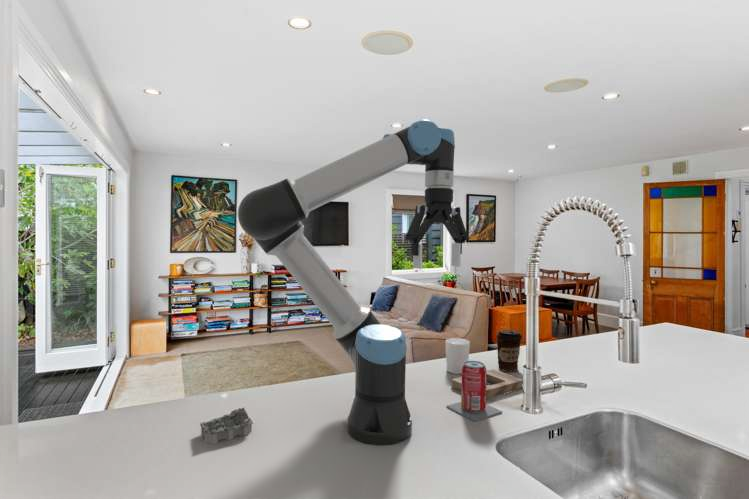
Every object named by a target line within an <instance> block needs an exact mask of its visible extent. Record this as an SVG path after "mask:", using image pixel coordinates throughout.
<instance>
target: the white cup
mask: <svg viewBox="0 0 749 499" xmlns="http://www.w3.org/2000/svg"><path fill="white" fill-rule="evenodd" d="M470 343H471V341H470V340H468V339H465V338H461V337H460V338H457V337H451V338H446V339H445V359H446V360H445V362H446V371H447V372H449V373H452V374H456V375H462V367H463V365H464V362H466V361H469V357H470V346H471V344H470Z"/></svg>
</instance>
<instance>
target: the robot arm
mask: <svg viewBox="0 0 749 499" xmlns="http://www.w3.org/2000/svg"><path fill="white" fill-rule="evenodd" d="M455 148H456V144H455V134H454V131H453V129H451V128H448V127H439V126H438V125H437V124H436V123H435V122H434V121H432V120H429V119H421V120H418V121H415V122H413V123H411V125H410V126H408V127H405V128H403V129H402V130H399V131H397V132H394V133H386V134H384V135H383V137H382V138H381V139H379V140H377V141H375V142H373V143H371V144H369V145H367V146H364V147H363V148H361V149H358V150H356V151H354V152H352V153H350V154H347V155H345V156H344V157H342V158H339V159H337V160H334V161H332V162H330V163H328V164H326V165H325V166H322V167H320V168H317V169H315V170H314V171H311V172H309V173H307V174H305V175H302V176H301V177H298V178H296V179H291V178H289V177H288V178H285V179H282V180H280V181H279V182H278V181H277V182H276V183H273V184H271V185H270V184H269V185H268V186H264V187H261V188H258V189H255V190H253V191H251V192H249V193H247V194H246V195H245V196H244V197H243V198H242V200H241V201H240V204H239V205H238V210H237V218H238V224H239V225H240V227H241V228H242V230H243V231H244V232H245V233H246V234H247V235H248V236H250V237H252V238H253V239H254V240H255V242H256V243H257V244H258V246H259V247H260V248H261V250H263V252H264V253H265V254H266V255H268V256H269V255H270V256H274V257H276V258H277V259H278V260H279V261H280V263H281V264H282V265H283V267H284V268H285V269H286V271H287V272H289V274H290V275H291V276H292V277H293V279H294V280H295V281H296V282H297V284H298V285H299V286H300V287H301V289H302V290H303V291H304V292H305V294H307V296H308V297H309V299H310V300H311V301H312V302H313V304H315V306H316V307H317V308H318V309H319V311H320V313H321V314H323V316H324V317H325V318H326V320H328V322H329V323H330V325H332V327H333V329H334V330H333V338H334V339H335V340H336V342H338V345H340V346H341V347H342V348H343V350H344V351H345V353H346V354H347V355H348V356H349V358H350V359H351V361H352V364H353V365H354V366H355V367H354V368H355V380H354V381H355V382H354V384H355V385H354V386H355V389H354V390H355V393H354V394H355V396H354V399H353V401H352V405H351V408H350V411H349V414H348V416H347V421H346V422H347V426H346V427H347V428H346V429H347V430H346V431H347V433H348V434H349V436H351V437H352V438H353V439H354V440H357V441H360V442H361V443H365V444H369V445H380V446H381V445H382V446H383V445H393V444H397V443H399V442H402V441H404V440H406V439H407V438H409V437H410V435H411V434H412V431H413V430H412V429H413V421H412V420H413V419H412V417H411V413H410V410H409V407H408V402H407V400H406V369H407V368H406V367H407V366H406V364H407V362H406V361H407V360H406V359H407V351H408V348H407V341H406V340H407V339H406V335H405V333H404V332H403V331H402V330H400V329H399V328H397V327H396V326H391V325H387V324H381V322H380V321H379V319H378V318H377V317H376V316H375V314H374V313H373V312H372V311H371V310H370V308H369V307H365V306H364V307H363V306H360V305H359V303H357V301H356V300H355V298H354V297H353V296H352V294H351V293H350V292H349V291H348V290H347V288H346V287H345V285H343V283H342V282H341V281H340V279H339V278H338V277H337V275H336V274H335V273H334V272H333V271H332V269H331V268H330V267H329V265H328V264H327V263H326V262H325V260H324V259H323V257H322V256H321V255H320V254H319V253H318V251H317V250H316V248H314V246H313V245H312V244H311V242H310V241H309V240H308V238H307V237H306V236H305V234H304V230H305V225H304V223H303V222H302V221H303V220H306V219H308V217H309V213H310V212H311V211H314V210H315V209H318V208H320V207H322V206H324V205H326V204H329V203H330V202H333V201H334V200H337V199H338V198H341V197H342V196H344V195H346V194H349V193H351V192H352V191H354V190H357V189H358V188H361V187H363V186H365V185H367V184H369V183H371V182H373V181H374V180H375V181H376V180H377V179H379V178H381V177H384V176H385V175H387V174H389V173H391V172H394V171H395V170H398V169H400V168H401V167H403V166H406V165H417V166H418V165H419V166H424V167H425V170H424V171H425V172H424V174H425V175H424V186H425V190H424V202H425V205H424V204H420V205H419V204H418V205H416V206H415V211H414V215H413V218H412V221H411V222H410V224H409V228H408V230H407V232H406V235H405V237H404V239H405V241H408V243H411V256H413V257H412V263H413V264H412V265H413V266H412V268H413V269H419V270H420V269H423V243H420V242H421V241H422V239H423V238H424V236H425V235H426V234H427V232H428V231H429V229H430V228H431V226H432V225H434V224H443V225H444V227H445V228H446V230H447V232H448V234H449V235H450V236H451V239H452V240H453V242H452V243H451V264H450V265H451V267H458V268H459V267H461V255H462V254H463V244H465V243H466V241H468V240H469V237H468V233H467V230H466V227H465V224H464V221H463V219H462V215H461V206H455V207H454V206H453V207H452V203H453V201H454V189H453V188H452V187H454V170H455V169H454V168H455V167H454V164H455V162H454V161H455Z"/></svg>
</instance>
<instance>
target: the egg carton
mask: <svg viewBox="0 0 749 499" xmlns="http://www.w3.org/2000/svg"><path fill="white" fill-rule="evenodd" d="M248 415H249V414H248V412H247V411H246V409H245V407H242V408H240V407H239V408H237V409H234V410H232V411H231V412H230V414H224V415H223V416H220V417H217V418H216V417H215V418H213V419H209V421H206V422H205V421H204V422H203V421H202V422H199V426H200V432H201V433H200V434H201V435H200V437H202V438H204V442H205V444H211V445H215V444H218V442H219V441H220V440H228V441H230V440H233V439H234V437H236V436H242V437H243V436H244V437H245V436H248V435H249V433H251V432H252V426H253V424H254V422H253V420H252V419H251V418H250V417H249V416H248Z"/></svg>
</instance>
